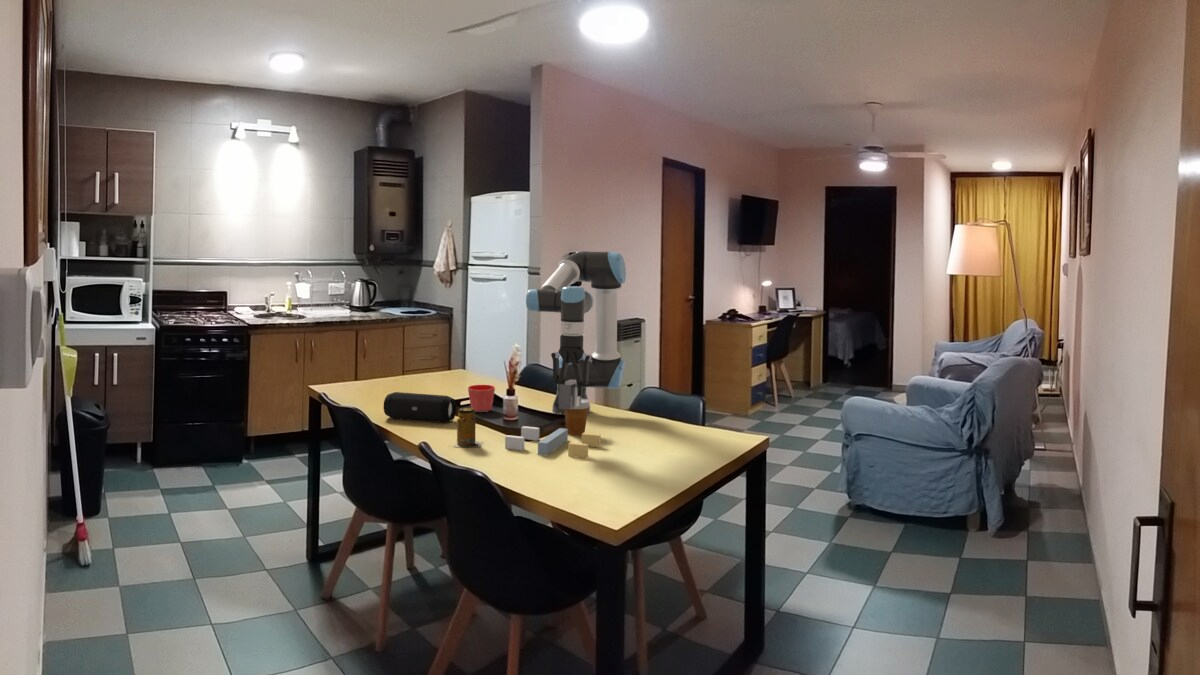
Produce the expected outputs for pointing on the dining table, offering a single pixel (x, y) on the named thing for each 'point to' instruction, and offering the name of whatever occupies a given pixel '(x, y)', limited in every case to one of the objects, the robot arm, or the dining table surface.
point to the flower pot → (481, 397)
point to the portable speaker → (420, 407)
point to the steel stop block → (567, 394)
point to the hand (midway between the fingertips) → (570, 405)
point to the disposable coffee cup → (577, 418)
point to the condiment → (466, 428)
